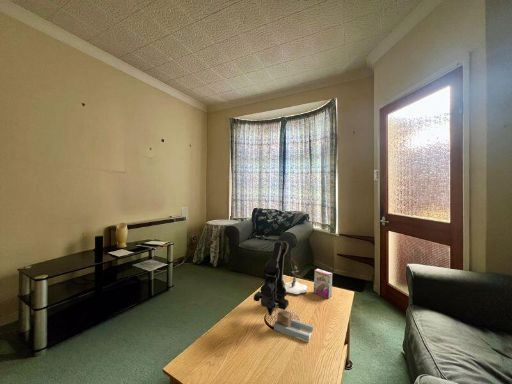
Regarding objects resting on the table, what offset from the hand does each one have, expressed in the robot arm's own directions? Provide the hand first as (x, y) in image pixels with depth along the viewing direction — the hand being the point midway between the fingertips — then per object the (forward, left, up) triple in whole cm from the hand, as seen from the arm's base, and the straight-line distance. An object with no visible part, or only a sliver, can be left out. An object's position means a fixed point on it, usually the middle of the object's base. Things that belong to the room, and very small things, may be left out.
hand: (270, 315), depth 117 cm
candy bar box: (+19, +45, -4) cm, 49 cm away
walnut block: (+8, 0, -3) cm, 9 cm away
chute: (+13, 0, -4) cm, 14 cm away
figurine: (0, +43, -4) cm, 43 cm away
